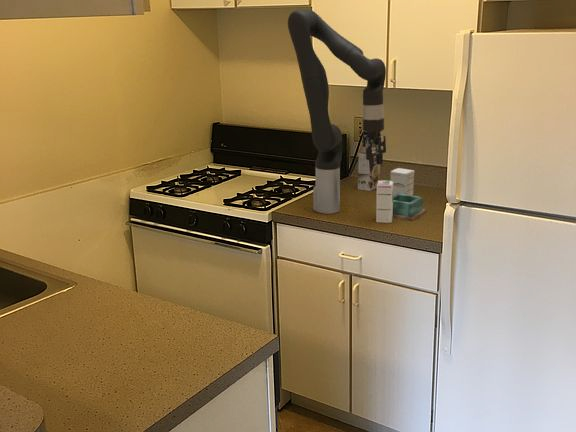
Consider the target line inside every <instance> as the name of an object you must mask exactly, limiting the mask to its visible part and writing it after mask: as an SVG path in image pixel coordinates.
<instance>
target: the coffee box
mask: <svg viewBox="0 0 576 432" xmlns="http://www.w3.org/2000/svg"><path fill="white" fill-rule="evenodd" d="M357 164H358V165H357V166H358V168H357V170H358V172H357V190H360V191H367V192H371V191H374V190H375V189H377V183H378V181H380V173H381V172H380V170H381V169H380V168H381V164H379V165H378V164H376V151H375V149H372V160H367V159H366V150H363V151H361V152H359V153H358V163H357Z"/></svg>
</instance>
